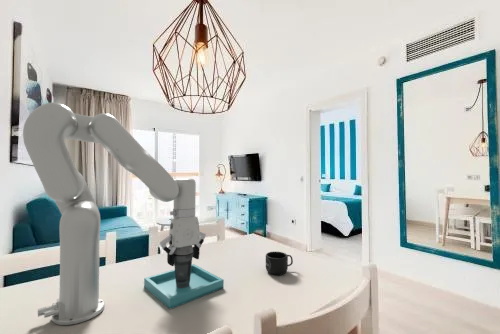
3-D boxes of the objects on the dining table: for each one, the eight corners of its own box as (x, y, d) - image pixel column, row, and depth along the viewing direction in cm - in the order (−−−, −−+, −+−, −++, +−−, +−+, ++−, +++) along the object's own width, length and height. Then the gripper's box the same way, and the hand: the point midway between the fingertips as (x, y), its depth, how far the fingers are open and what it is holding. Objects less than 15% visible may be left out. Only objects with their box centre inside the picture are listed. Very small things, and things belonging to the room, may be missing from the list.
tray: (169, 309, 75) (170, 299, 75) (144, 286, 90) (144, 278, 90) (223, 288, 89) (223, 279, 89) (193, 271, 104) (193, 263, 104)
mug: (271, 278, 98) (271, 259, 98) (262, 269, 106) (262, 252, 106) (298, 274, 102) (298, 256, 102) (287, 266, 110) (287, 249, 111)
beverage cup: (180, 292, 84) (180, 232, 84) (167, 285, 89) (168, 228, 89) (197, 284, 90) (198, 228, 90) (185, 279, 94) (185, 225, 95)
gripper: (165, 217, 81) (165, 271, 81) (210, 211, 93) (210, 258, 93) (156, 214, 87) (155, 264, 86) (199, 209, 99) (199, 253, 98)
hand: (183, 261), depth 90 cm, fingers open, 9 cm apart
